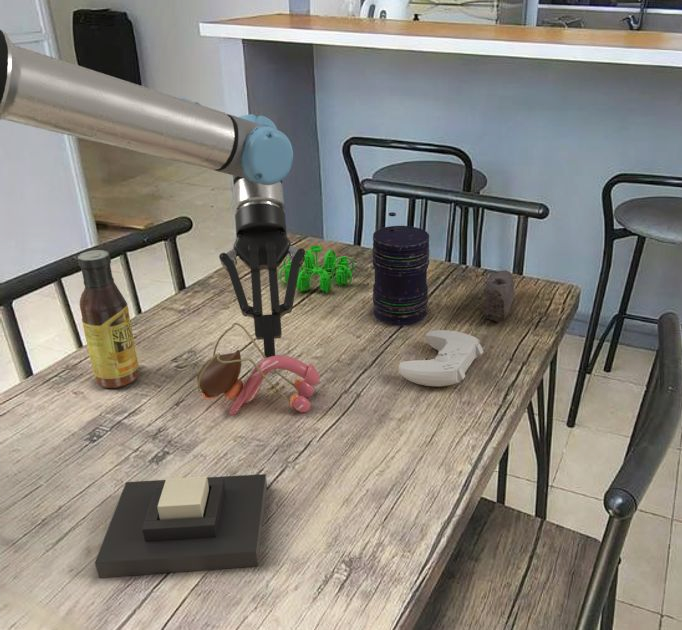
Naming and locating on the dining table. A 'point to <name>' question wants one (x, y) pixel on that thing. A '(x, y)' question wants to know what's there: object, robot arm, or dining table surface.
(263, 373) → the anatomy model
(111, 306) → the sauce bottle
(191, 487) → the key
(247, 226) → the robot arm
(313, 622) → the dining table surface
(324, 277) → the chandelier
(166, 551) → the stepped tiered pedestal
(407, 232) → the storage jar
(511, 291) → the perforated stone tool
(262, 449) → the dining table surface
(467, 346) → the game controller
